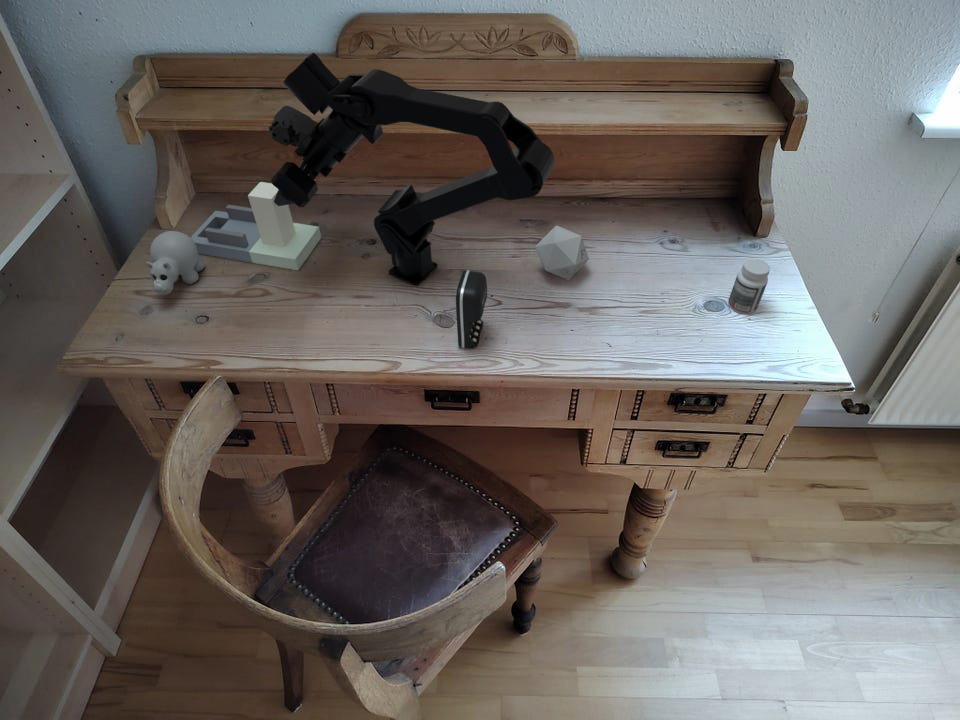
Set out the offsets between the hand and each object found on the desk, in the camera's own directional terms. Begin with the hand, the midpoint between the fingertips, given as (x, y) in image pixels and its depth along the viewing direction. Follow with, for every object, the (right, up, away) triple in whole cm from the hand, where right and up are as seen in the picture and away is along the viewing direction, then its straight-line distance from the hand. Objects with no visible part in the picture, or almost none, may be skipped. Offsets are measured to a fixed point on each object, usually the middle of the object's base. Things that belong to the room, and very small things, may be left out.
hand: (288, 188), depth 112 cm
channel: (-9, -8, +11) cm, 16 cm away
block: (-4, -7, +8) cm, 11 cm away
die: (+47, -13, +5) cm, 49 cm away
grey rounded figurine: (-20, -16, +3) cm, 26 cm away
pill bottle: (+76, -20, -2) cm, 79 cm away
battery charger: (+31, -25, -6) cm, 41 cm away
